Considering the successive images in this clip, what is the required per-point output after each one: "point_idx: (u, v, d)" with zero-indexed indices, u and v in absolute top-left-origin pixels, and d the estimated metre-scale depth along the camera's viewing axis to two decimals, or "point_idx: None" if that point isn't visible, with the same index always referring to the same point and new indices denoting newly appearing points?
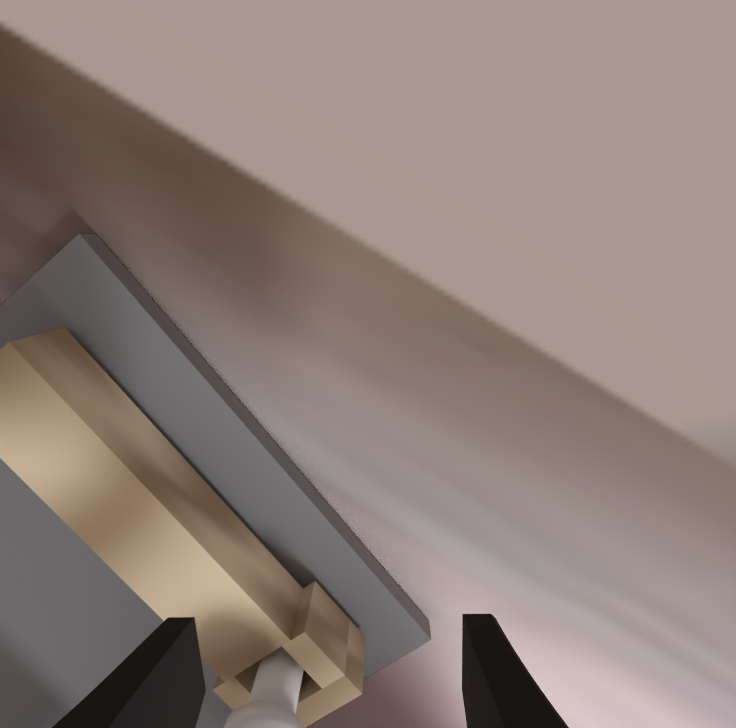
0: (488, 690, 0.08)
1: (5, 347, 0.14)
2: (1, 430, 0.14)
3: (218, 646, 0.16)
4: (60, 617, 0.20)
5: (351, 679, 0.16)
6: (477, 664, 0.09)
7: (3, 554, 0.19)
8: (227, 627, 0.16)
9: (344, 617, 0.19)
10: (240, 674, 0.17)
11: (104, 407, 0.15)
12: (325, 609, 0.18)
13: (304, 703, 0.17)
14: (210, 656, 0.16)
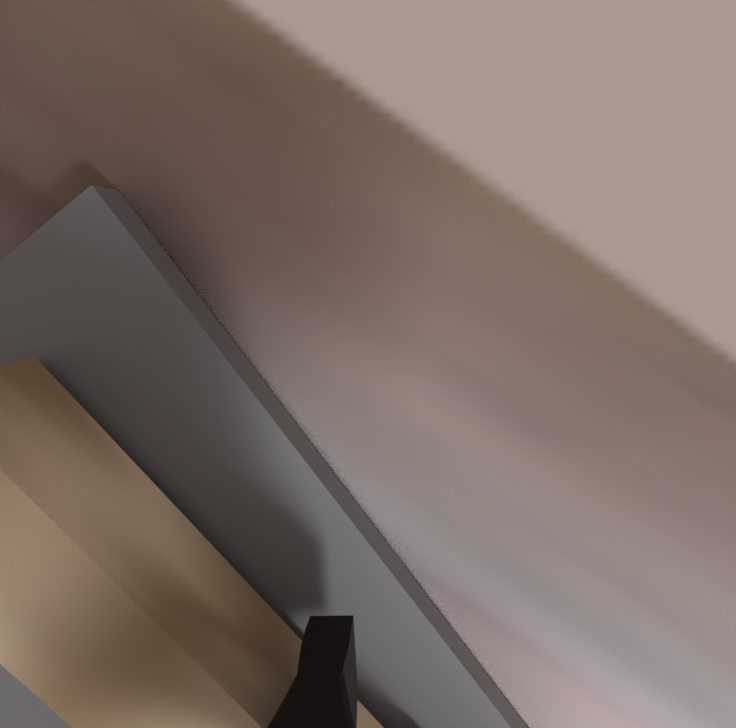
0: (295, 691, 0.08)
1: None
2: None
3: None
4: None
5: None
6: None
7: None
8: None
9: None
10: None
11: (99, 493, 0.09)
12: None
13: None
14: None
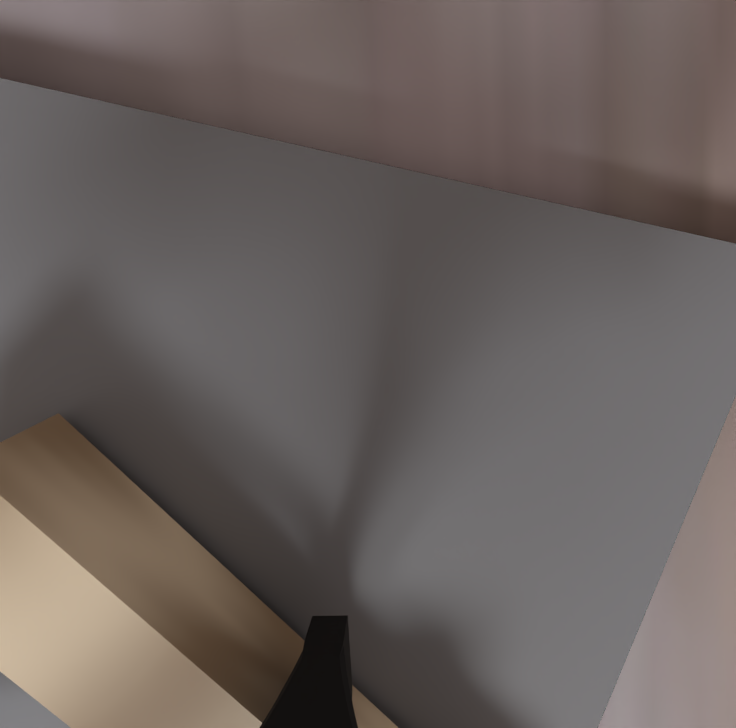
0: (298, 691, 0.08)
1: None
2: None
3: None
4: None
5: None
6: None
7: (196, 444, 0.11)
8: None
9: None
10: None
11: (128, 539, 0.10)
12: None
13: None
14: None
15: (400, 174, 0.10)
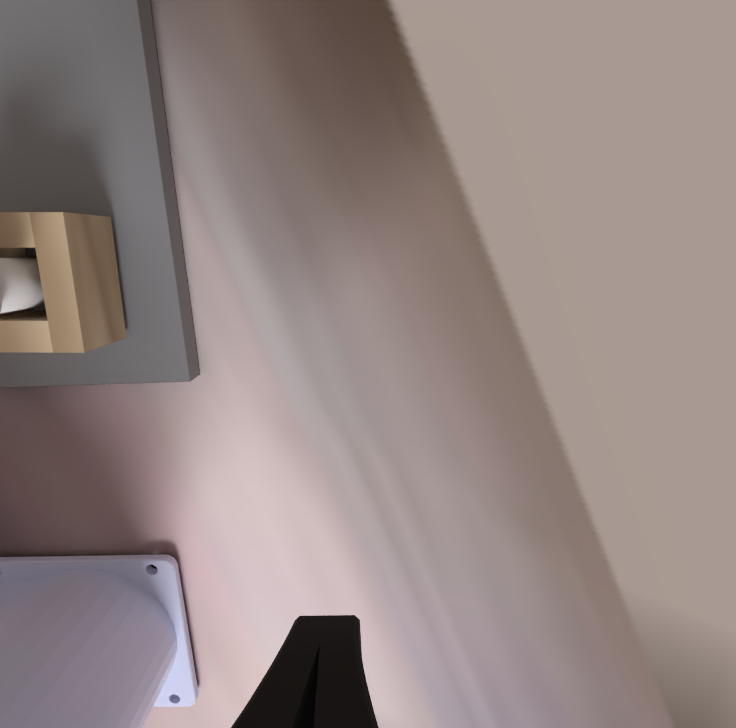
0: (316, 691, 0.08)
1: None
2: None
3: None
4: None
5: (42, 212, 0.14)
6: None
7: None
8: None
9: None
10: None
11: None
12: None
13: (45, 278, 0.14)
14: None
15: None
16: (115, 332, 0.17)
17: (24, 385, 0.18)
